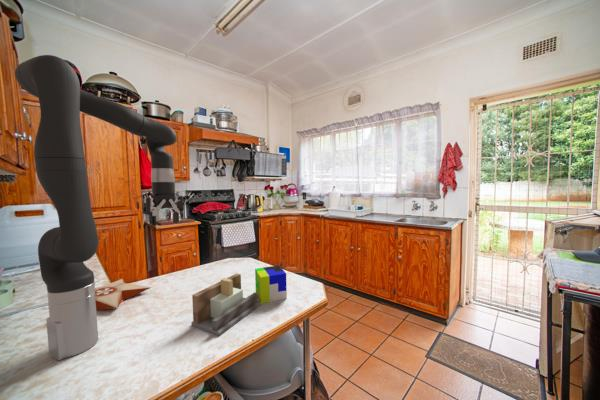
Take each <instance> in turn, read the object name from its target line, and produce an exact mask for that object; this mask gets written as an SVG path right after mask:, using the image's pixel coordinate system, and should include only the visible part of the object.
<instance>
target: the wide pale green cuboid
mask: <svg viewBox="0 0 600 400" xmlns="http://www.w3.org/2000/svg"><path fill="white" fill-rule="evenodd" d="M220 281H221V293H220V294H218V295H217V296H215V297H213V298H211V299H210V308H211V317H213V318H216V317H218V316H219V315H221V314H222V313H224V312H225V311H227V310H228V309H230V308H231V307H233V306H235V305H236V304H238V303H239V302H241V301H242V300H243V298H244V293H243V292H244V290H243V289H242V288H241V289H237V288H233V280H230V279H226V278H225V277H224V278H222V279H220Z"/></svg>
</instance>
